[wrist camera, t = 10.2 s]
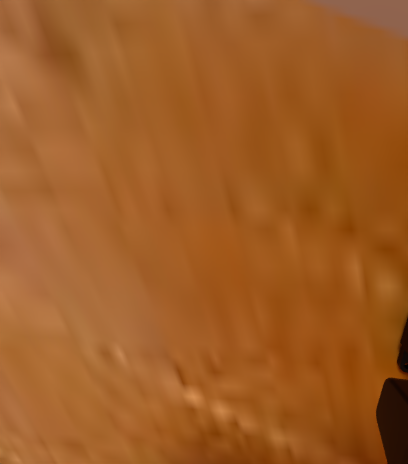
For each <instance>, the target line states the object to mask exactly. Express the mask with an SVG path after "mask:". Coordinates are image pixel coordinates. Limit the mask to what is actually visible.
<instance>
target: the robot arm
mask: <svg viewBox="0 0 408 464" xmlns="http://www.w3.org/2000/svg"><path fill="white" fill-rule="evenodd" d="M400 343H401V345H402V347H401V350H400V353H399V356H398V360H397V363H398V365H399V367H400V368H401V370H402V371H404V372H407V373H408V364H407V365H405V363H407V362H408V319H407V322H406V325H405V329H404V332H403V335H402V339H401V342H400ZM376 418H377V423H378V427H379V431H380V435H381V439H382V443H383V447H384V450H385V454H386V458H387V462H388V464H408V380H405V379H397V378H388V379H386V380H385V382H384V384H383V388H382V391H381V395H380V398H379V402H378V405H377V409H376Z"/></svg>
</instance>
